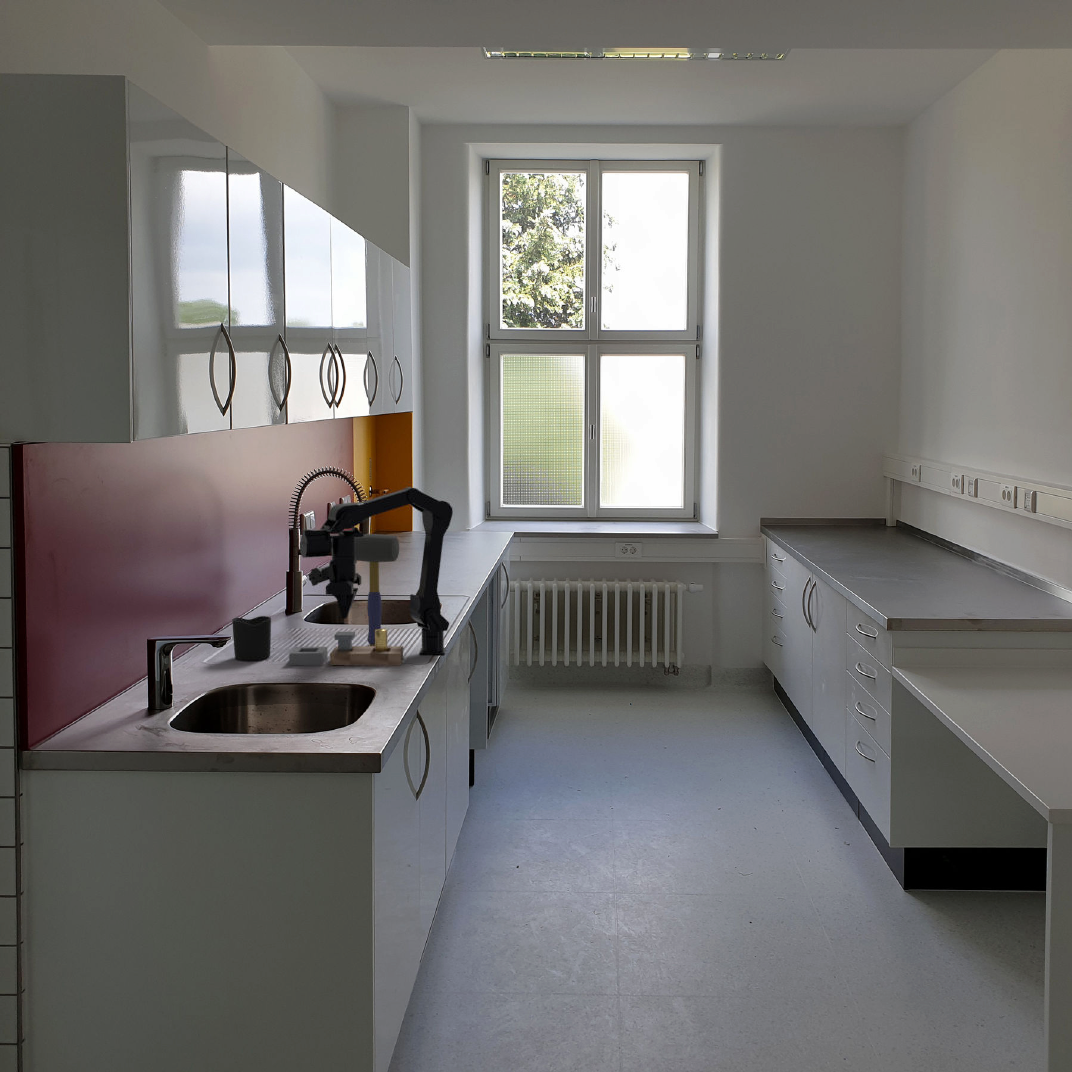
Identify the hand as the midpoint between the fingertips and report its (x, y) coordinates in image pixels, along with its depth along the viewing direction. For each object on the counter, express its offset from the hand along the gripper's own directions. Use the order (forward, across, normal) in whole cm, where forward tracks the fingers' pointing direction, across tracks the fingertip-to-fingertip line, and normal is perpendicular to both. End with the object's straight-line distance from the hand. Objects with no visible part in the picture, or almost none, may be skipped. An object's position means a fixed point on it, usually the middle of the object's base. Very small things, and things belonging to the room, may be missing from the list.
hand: (344, 618), depth 263 cm
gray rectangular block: (+8, 0, 0) cm, 8 cm away
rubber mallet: (+11, -20, +5) cm, 23 cm away
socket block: (+11, 0, +5) cm, 12 cm away
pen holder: (+11, -5, -24) cm, 27 cm away
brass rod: (+11, 0, +9) cm, 14 cm away
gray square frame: (+11, 0, -9) cm, 14 cm away
